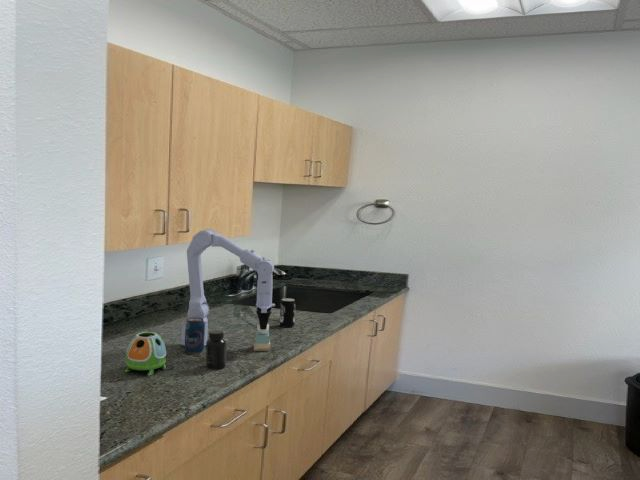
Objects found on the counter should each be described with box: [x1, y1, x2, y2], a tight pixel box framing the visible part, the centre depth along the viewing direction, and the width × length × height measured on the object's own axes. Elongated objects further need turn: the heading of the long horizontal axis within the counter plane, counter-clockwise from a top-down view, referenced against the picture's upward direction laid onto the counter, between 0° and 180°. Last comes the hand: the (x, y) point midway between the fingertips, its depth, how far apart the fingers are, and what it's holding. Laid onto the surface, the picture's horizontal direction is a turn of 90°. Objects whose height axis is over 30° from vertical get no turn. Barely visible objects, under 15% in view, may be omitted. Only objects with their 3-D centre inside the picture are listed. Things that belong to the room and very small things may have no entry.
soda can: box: [184, 318, 205, 355], centre depth 217 cm, size 7×7×12 cm
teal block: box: [255, 331, 270, 343], centre depth 225 cm, size 5×5×3 cm
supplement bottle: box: [205, 329, 227, 370], centre depth 200 cm, size 7×7×12 cm
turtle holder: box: [125, 331, 167, 377], centre depth 195 cm, size 12×18×12 cm
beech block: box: [253, 338, 271, 352], centre depth 226 cm, size 6×6×3 cm
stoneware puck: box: [256, 323, 270, 334], centre depth 225 cm, size 4×4×3 cm
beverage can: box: [279, 297, 296, 328], centre depth 264 cm, size 7×7×12 cm
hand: (263, 327), depth 225 cm, fingers closed on stoneware puck, 4 cm apart
